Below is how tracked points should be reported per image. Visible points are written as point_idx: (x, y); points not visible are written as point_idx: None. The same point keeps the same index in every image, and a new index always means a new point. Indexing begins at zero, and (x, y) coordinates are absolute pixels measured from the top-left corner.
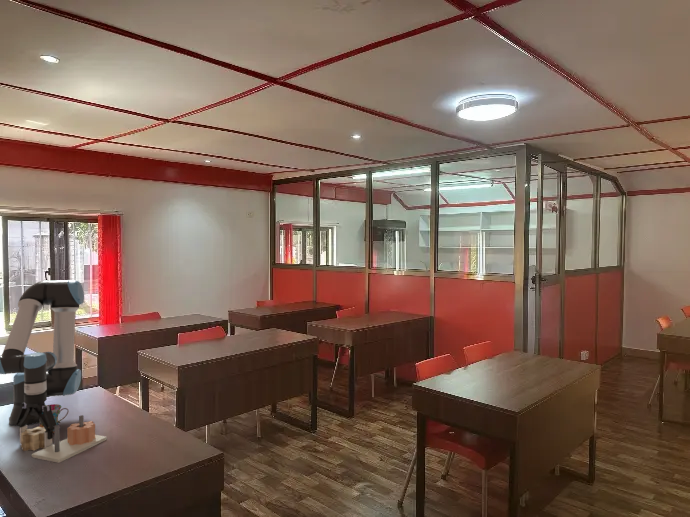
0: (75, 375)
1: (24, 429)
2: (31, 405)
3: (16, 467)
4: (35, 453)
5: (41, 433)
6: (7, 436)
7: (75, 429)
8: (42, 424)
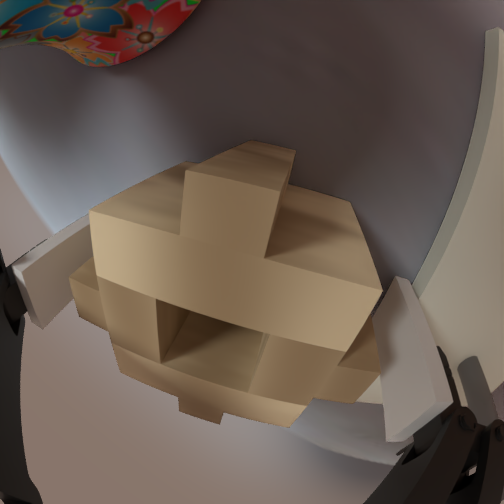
0: None
1: (52, 282)
2: None
3: (332, 431)
4: (362, 395)
5: (331, 397)
6: (4, 153)
7: None
8: (55, 38)
